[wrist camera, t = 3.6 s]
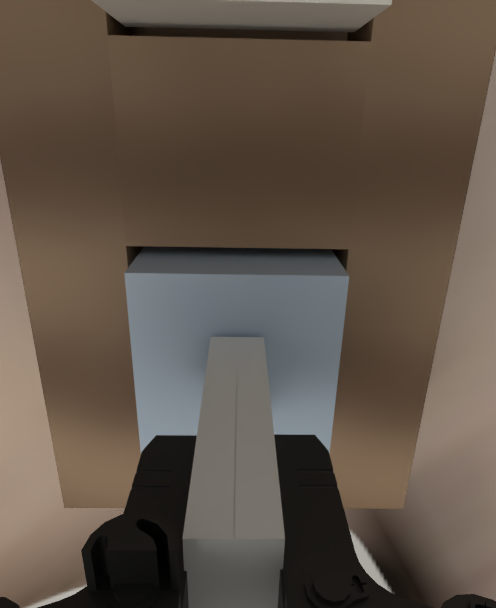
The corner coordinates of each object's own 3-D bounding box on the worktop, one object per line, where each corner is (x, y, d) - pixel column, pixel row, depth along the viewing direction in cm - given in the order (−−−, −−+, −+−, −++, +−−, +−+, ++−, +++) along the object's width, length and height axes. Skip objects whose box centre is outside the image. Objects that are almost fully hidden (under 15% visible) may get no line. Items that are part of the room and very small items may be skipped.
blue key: (147, 241, 15) (124, 273, 12) (328, 244, 15) (349, 276, 12) (157, 395, 17) (140, 453, 14) (314, 396, 17) (329, 454, 14)
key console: (-24, -432, 11) (-159, -711, 7) (508, -408, 11) (640, -667, 7) (95, 438, 21) (64, 507, 17) (374, 440, 21) (403, 508, 17)
